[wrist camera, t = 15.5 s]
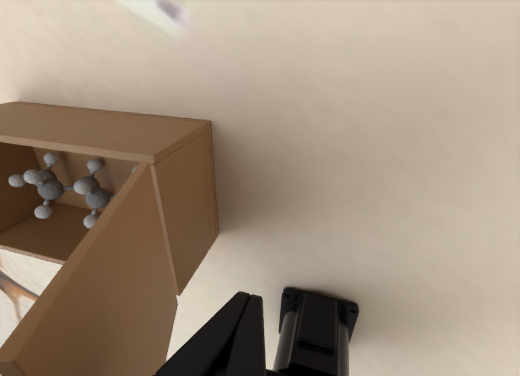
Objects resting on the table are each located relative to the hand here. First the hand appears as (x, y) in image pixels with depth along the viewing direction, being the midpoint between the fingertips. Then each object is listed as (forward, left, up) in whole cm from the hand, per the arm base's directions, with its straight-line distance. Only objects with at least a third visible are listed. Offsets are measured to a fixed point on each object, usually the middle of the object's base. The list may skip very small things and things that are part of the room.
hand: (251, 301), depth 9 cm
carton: (-2, +15, -11) cm, 19 cm away
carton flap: (-2, +5, +1) cm, 5 cm away
